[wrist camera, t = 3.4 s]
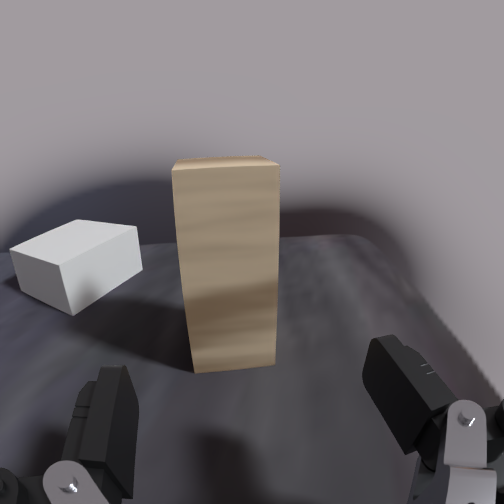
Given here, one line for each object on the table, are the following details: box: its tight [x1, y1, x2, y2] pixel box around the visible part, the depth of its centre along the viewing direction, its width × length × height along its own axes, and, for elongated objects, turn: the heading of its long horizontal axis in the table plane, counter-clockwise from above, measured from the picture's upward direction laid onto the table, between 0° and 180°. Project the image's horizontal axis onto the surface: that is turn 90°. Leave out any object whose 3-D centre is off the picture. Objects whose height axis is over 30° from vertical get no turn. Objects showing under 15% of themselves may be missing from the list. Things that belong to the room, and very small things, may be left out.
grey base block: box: [10, 220, 143, 316], centre depth 29 cm, size 10×10×5 cm
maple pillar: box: [172, 156, 280, 373], centre depth 19 cm, size 5×5×12 cm
